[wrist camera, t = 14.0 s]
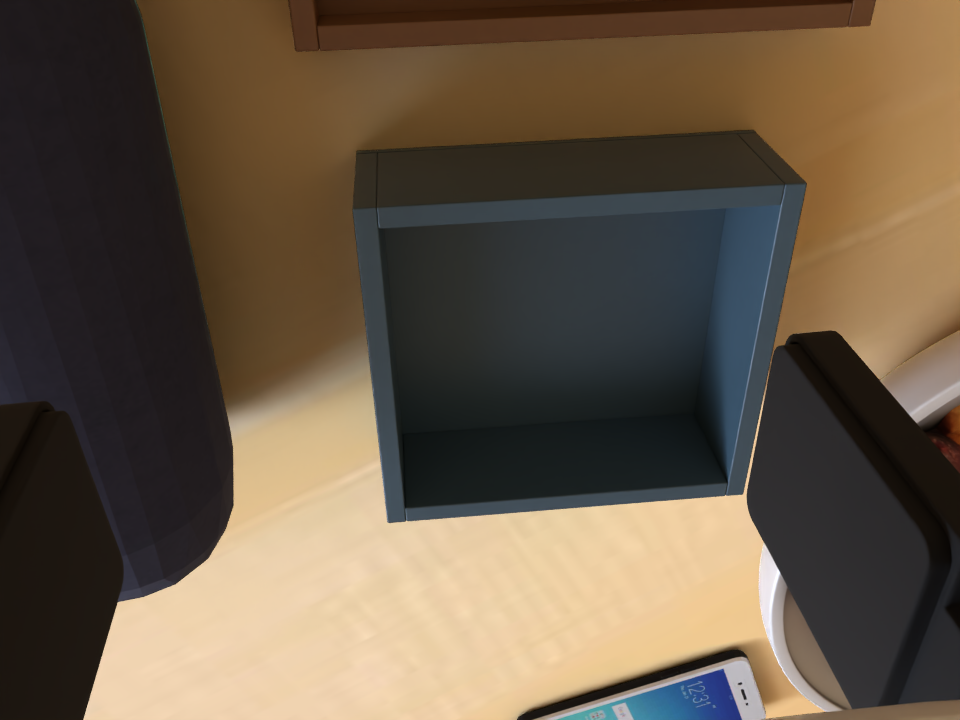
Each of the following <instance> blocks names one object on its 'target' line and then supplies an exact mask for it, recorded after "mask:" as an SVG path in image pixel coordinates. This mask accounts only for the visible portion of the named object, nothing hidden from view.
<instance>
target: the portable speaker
mask: <svg viewBox="0 0 960 720" xmlns="http://www.w3.org/2000/svg"><path fill="white" fill-rule="evenodd" d="M36 401H47V402H49V403H50V404H51V405H52V406H53V407H54V409H55V411H62V410H63V411H66V412H67V413H68V414H69V416H70V418H71V420H72V423H73V426H74V428H75V431H76V434H77V436H78V439H79V442H80V445H81V447H82V450H83V453H84V455H85V458H86V461H87V464H88V466H89V469H90V472H91V474H92V477H93V480H94V483H95V485H96V488H97V491H98V493H99V496H100V499H101V501H102V504H103V507H104V510H105V512H106V515H107V518H108V520H109V523H110V526H111V529H112V531H113V534H114V537H115V539H116V542H117V545H118V547H119V550H120V553H121V556H122V559H123V566H124V578H123V585H122V589H121V592H120V595H119V599H118V602H120V601H125V600H130V599H135V598H140V597H144V596H147V595H149V594H152V593H154V592H157V591H159V590H162V589H164V588H167V587H170V586H172V585H175V584H176V583H178V582H179V581H180V580H182V579H183V578H184V577H185V576H187V575H188V574H189V573H190V572H192V571H193V570H194V569H196V568H197V567H198V566H199V565H201V564H202V563H203V562H204V561H206V560H207V559H208V558H209V556H210V555H211V553H212V551H213V550H214V548H215V546H216V545H217V543H218V541H219V540H220V538H221V536H222V535H223V533H224V531H225V529H226V527H227V524H228V521H229V518H230V514H231V511H232V508H233V445H232V439H231V432H230V427H229V422H228V417H227V413H226V408H225V403H224V399H223V394H222V389H221V385H220V380H219V375H218V371H217V366H216V361H215V356H214V352H213V347H212V342H211V338H210V333H209V328H208V324H207V319H206V314H205V310H204V305H203V300H202V296H201V291H200V286H199V281H198V277H197V272H196V267H195V263H194V258H193V253H192V249H191V244H190V239H189V235H188V230H187V225H186V220H185V216H184V211H183V206H182V202H181V197H180V192H179V188H178V183H177V178H176V174H175V169H174V164H173V160H172V155H171V150H170V145H169V141H168V136H167V131H166V127H165V122H164V117H163V113H162V108H161V103H160V99H159V94H158V89H157V85H156V80H155V75H154V70H153V66H152V61H151V56H150V52H149V47H148V42H147V38H146V33H145V28H144V24H143V20H142V17H141V14H140V10H139V7H138V5H137V2H136V0H0V405H3V404H14V403H25V402H36Z"/></svg>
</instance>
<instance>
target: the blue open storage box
mask: <svg viewBox="0 0 960 720" xmlns="http://www.w3.org/2000/svg"><path fill="white" fill-rule="evenodd" d="M806 186H807V183H806V182H805V181H804V180H803V179H802V178H801V177H800V176H799V175H798V174H797V173H796V172H795V171H794V170H793V169H792V168H791V167H790V166H789V165H788V164H787V163H786V162H785V161H784V160H783V159H782V158H781V157H780V156H779V155H778V154H777V153H776V152H775V151H774V150H773V149H772V148H771V147H770V146H769V145H768V144H767V143H766V142H765V141H764V140H763V139H762V138H761V137H760V136H759V135H758V134H757V133H756V132H755V131H754V130H744V131H725V132H707V133H688V134H669V135H650V136H631V137H612V138H593V139H574V140H555V141H536V142H517V143H498V144H479V145H460V146H441V147H422V148H403V149H384V150H365V151H357V152H356V166H355V181H354V195H353V218H354V227H355V236H356V245H357V254H358V263H359V272H360V281H361V290H362V299H363V308H364V317H365V326H366V335H367V344H368V352H369V361H370V370H371V379H372V388H373V397H374V406H375V415H376V424H377V433H378V442H379V451H380V460H381V469H382V478H383V486H384V495H385V504H386V513H387V522H388V523H394V522H405V521H406V520H407V521H417V520H430V519H442V518H455V517H467V516H480V515H492V514H504V513H517V512H529V511H542V510H554V509H567V508H579V507H592V506H604V505H617V504H629V503H642V502H654V501H667V500H679V499H692V498H704V497H717V496H725V494H726V496H729V495H742V494H743V492H744V487H745V483H746V478H747V473H748V468H749V463H750V458H751V453H752V449H753V444H754V439H755V434H756V429H757V424H758V419H759V414H760V410H761V405H762V400H763V395H764V390H765V385H766V380H767V376H768V371H769V366H770V361H771V356H772V351H773V346H774V341H775V337H776V332H777V327H778V322H779V317H780V312H781V307H782V303H783V298H784V293H785V288H786V283H787V278H788V273H789V268H790V264H791V259H792V254H793V249H794V244H795V239H796V234H797V230H798V225H799V220H800V215H801V210H802V205H803V200H804V195H805V191H806Z"/></svg>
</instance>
